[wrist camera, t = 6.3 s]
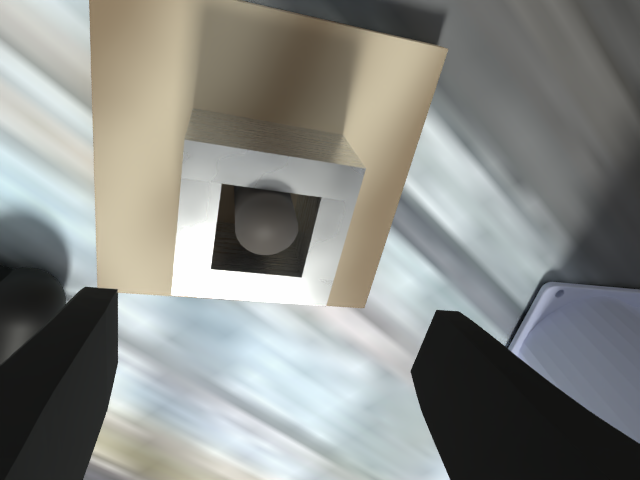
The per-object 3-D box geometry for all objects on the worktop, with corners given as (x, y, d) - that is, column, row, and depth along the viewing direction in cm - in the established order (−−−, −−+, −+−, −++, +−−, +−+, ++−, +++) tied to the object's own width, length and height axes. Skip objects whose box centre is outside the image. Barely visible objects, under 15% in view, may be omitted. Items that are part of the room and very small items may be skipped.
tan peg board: (437, 45, 17) (504, 69, 13) (359, 295, 23) (388, 369, 19) (96, -33, 14) (40, -34, 10) (103, 277, 20) (69, 360, 16)
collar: (342, 134, 17) (365, 168, 14) (311, 256, 20) (326, 306, 17) (192, 108, 16) (184, 139, 13) (180, 243, 19) (171, 295, 16)
